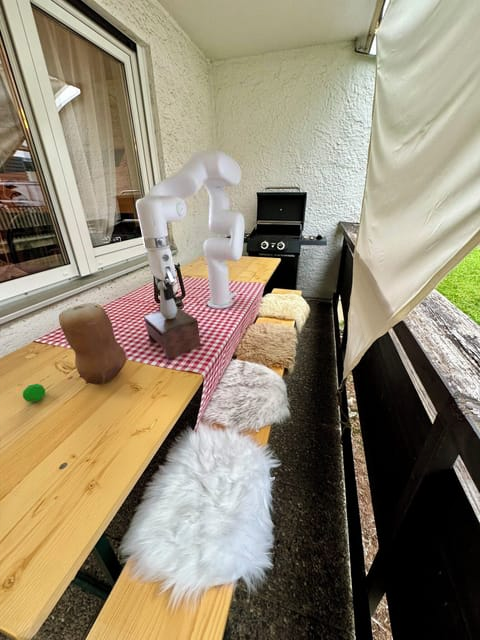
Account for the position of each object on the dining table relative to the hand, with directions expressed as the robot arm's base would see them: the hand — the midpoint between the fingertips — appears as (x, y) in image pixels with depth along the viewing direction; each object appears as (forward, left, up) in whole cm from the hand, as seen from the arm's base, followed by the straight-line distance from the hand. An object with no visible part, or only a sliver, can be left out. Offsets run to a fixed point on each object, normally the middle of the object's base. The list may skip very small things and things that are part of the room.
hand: (166, 296), depth 88 cm
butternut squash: (+25, +3, -20) cm, 32 cm away
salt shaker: (0, 0, -8) cm, 8 cm away
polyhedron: (+43, -1, -20) cm, 47 cm away
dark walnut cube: (0, 0, -19) cm, 19 cm away
